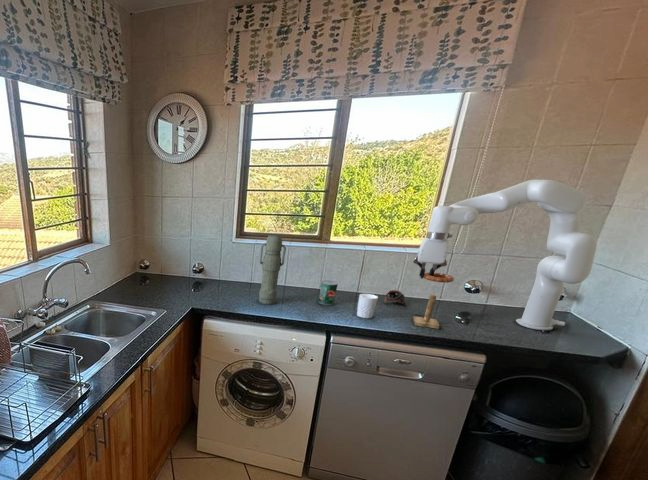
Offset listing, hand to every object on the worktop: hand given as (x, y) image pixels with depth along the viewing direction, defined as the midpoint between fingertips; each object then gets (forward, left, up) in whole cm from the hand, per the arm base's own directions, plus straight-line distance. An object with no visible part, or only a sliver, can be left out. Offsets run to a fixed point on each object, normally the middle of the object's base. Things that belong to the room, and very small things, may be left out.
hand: (425, 277), depth 178 cm
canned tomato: (+38, -13, -21) cm, 46 cm away
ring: (-5, 0, +1) cm, 5 cm away
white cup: (+20, +1, -21) cm, 29 cm away
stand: (-5, 0, -21) cm, 21 cm away
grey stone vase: (+66, 0, -21) cm, 70 cm away
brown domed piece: (+6, -28, -21) cm, 35 cm away
